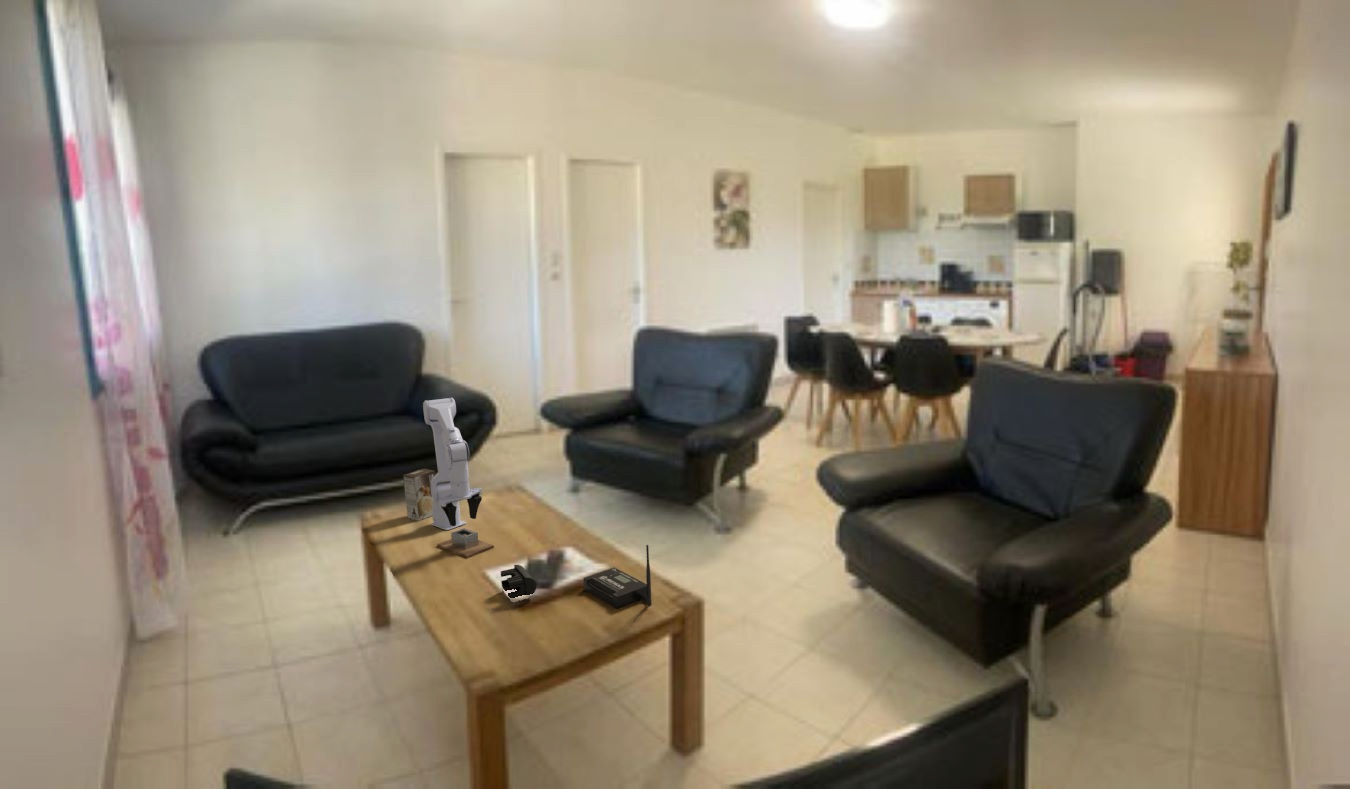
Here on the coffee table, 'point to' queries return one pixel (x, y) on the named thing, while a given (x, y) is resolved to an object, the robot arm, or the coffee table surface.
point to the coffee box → (419, 493)
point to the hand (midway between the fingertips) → (463, 521)
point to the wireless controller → (619, 587)
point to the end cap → (518, 582)
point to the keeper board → (468, 552)
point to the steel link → (464, 538)
